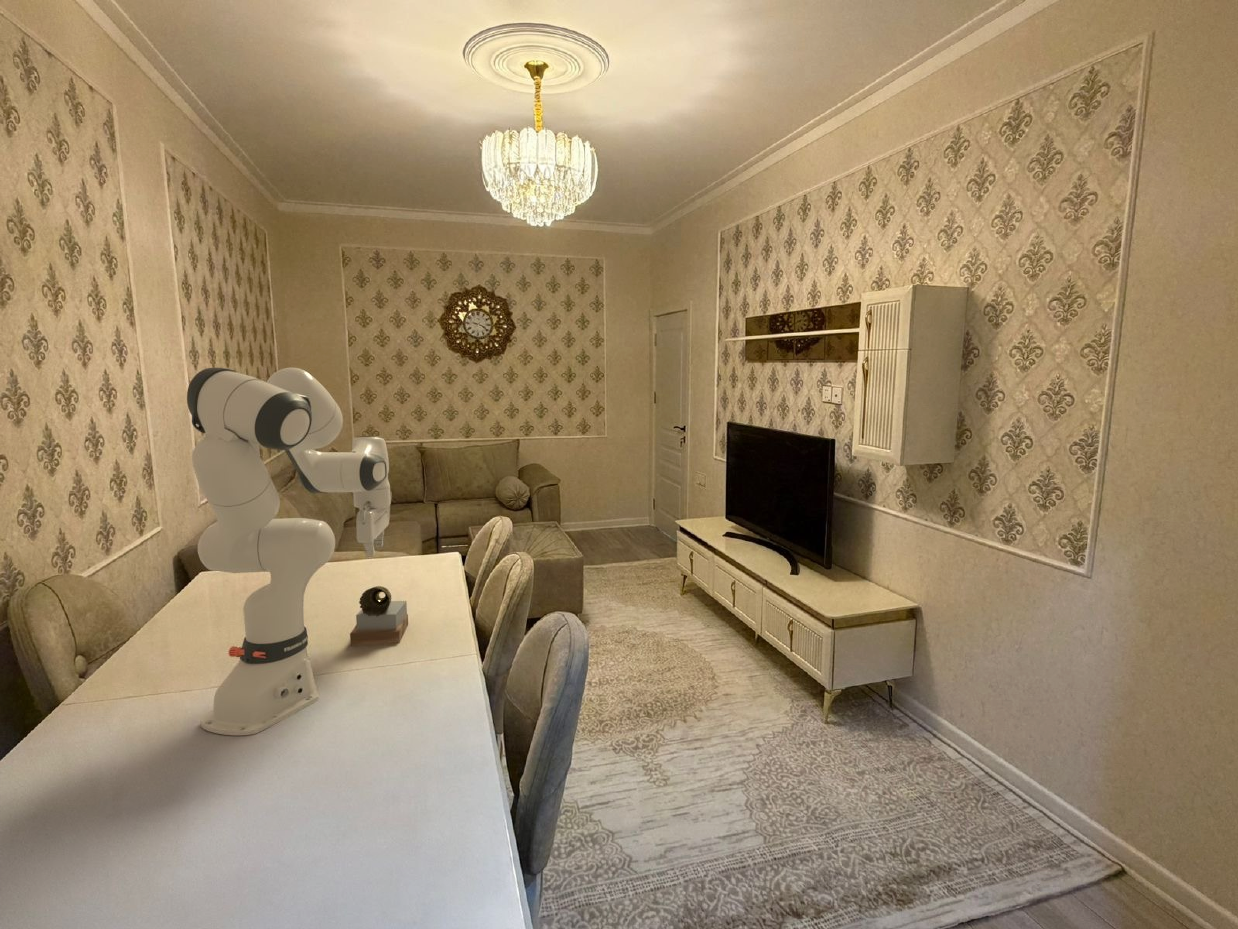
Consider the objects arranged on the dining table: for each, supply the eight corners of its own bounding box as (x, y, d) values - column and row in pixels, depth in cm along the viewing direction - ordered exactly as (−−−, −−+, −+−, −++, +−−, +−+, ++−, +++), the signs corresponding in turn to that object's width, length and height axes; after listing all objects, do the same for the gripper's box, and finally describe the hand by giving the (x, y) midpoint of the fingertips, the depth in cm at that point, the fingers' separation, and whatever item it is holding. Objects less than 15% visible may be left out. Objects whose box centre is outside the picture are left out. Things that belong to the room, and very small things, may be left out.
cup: (398, 582, 170) (390, 589, 162) (395, 609, 170) (387, 618, 162) (369, 580, 169) (360, 587, 161) (366, 607, 169) (357, 615, 161)
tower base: (399, 646, 163) (399, 631, 162) (350, 648, 161) (350, 633, 161) (408, 627, 175) (407, 614, 174) (362, 630, 173) (362, 616, 172)
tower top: (396, 629, 164) (395, 614, 163) (356, 630, 163) (356, 615, 162) (407, 614, 173) (406, 600, 173) (369, 615, 173) (368, 601, 172)
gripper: (375, 506, 152) (378, 562, 154) (393, 491, 172) (395, 541, 174) (348, 506, 151) (351, 563, 153) (368, 492, 171) (371, 542, 173)
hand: (375, 551), depth 164 cm, fingers open, 8 cm apart
